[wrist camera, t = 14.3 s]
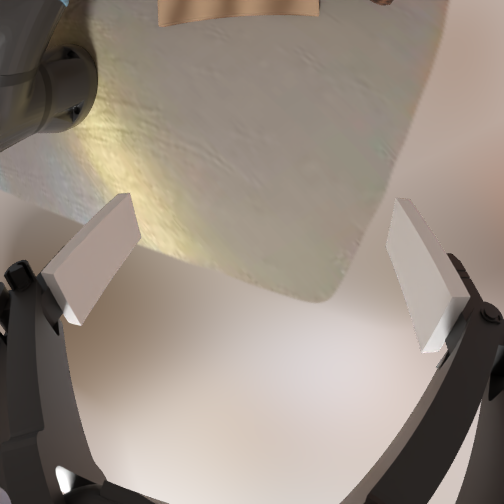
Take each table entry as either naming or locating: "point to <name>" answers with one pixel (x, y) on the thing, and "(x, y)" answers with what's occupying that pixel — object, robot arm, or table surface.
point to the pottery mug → (382, 2)
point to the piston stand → (230, 9)
